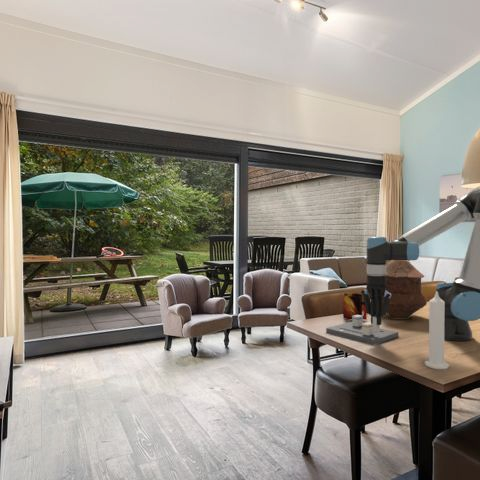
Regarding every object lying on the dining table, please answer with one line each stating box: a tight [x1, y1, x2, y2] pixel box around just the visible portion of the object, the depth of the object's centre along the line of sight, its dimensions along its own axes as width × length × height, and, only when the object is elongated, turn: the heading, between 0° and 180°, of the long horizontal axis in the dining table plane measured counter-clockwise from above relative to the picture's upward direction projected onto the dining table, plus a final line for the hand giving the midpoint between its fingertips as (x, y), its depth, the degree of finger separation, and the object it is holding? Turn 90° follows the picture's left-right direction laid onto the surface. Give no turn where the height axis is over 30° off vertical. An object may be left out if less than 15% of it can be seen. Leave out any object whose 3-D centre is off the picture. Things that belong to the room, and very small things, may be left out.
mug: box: [342, 292, 367, 321], centre depth 196 cm, size 10×14×12 cm
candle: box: [424, 290, 450, 370], centre depth 126 cm, size 7×7×25 cm
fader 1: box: [351, 315, 364, 327], centre depth 172 cm, size 3×4×4 cm
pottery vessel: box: [382, 260, 427, 320], centre depth 198 cm, size 26×26×30 cm
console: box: [325, 321, 399, 346], centre depth 165 cm, size 24×18×2 cm
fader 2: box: [362, 321, 374, 336], centre depth 157 cm, size 3×4×4 cm
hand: (376, 332), depth 154 cm, fingers closed
